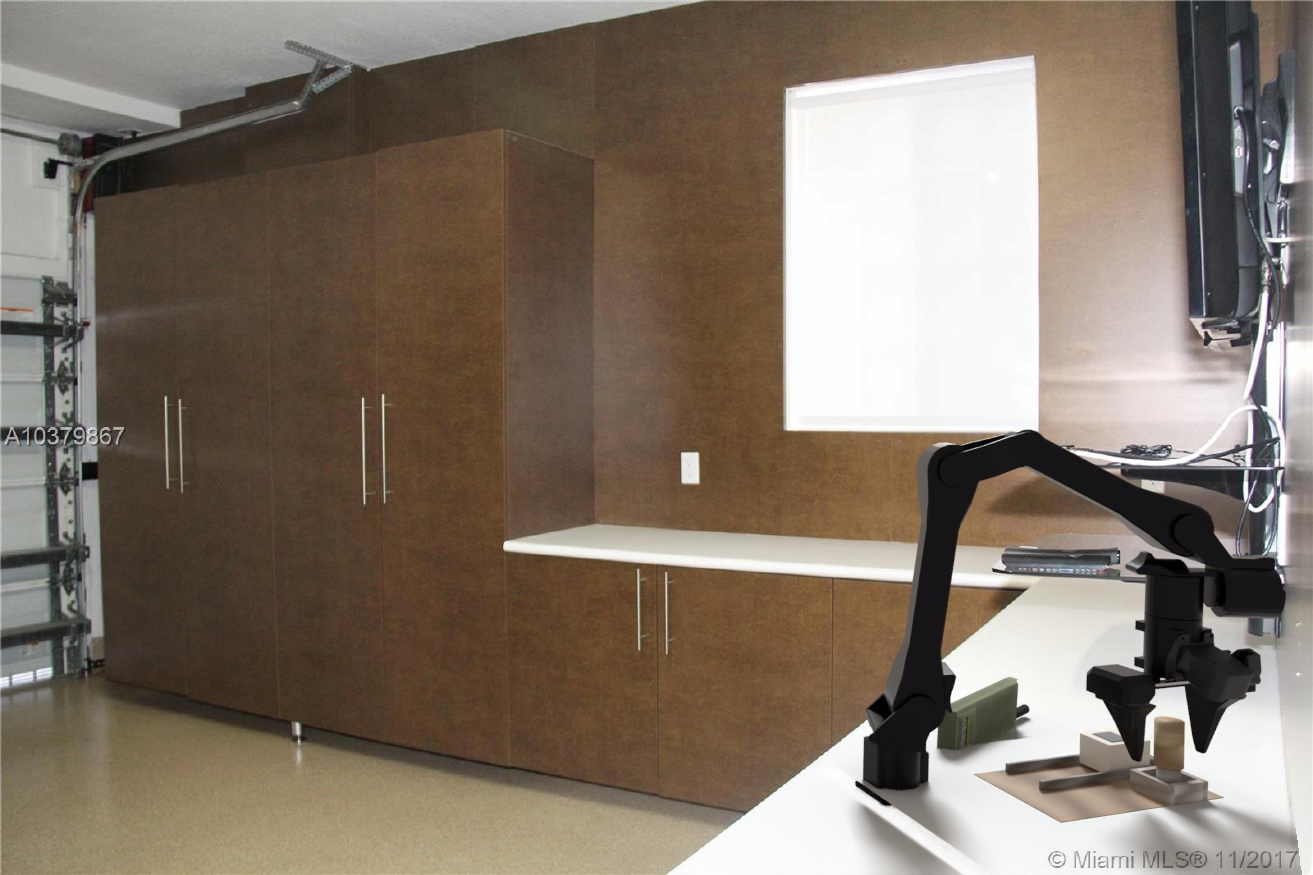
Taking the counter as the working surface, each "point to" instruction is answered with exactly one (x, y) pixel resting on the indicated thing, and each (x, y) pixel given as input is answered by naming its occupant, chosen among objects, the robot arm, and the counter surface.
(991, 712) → the handheld radio
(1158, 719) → the tan rounded cylinder
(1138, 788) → the board
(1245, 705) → the counter surface
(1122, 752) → the box
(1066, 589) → the counter surface
